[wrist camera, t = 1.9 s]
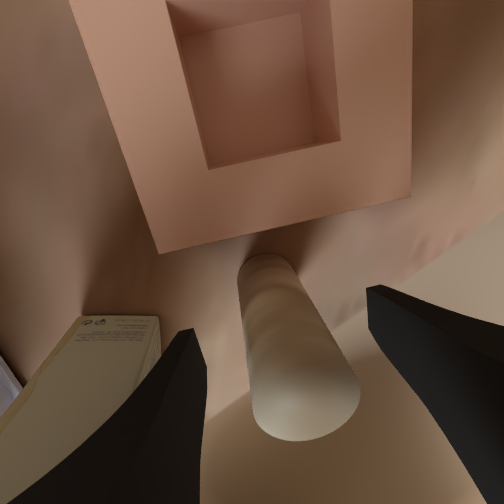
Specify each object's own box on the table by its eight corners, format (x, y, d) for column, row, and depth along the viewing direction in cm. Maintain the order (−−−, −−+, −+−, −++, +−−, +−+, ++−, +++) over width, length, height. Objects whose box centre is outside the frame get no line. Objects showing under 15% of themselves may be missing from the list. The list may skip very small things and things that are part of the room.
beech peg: (244, 310, 16) (263, 451, 9) (231, 260, 15) (241, 374, 8) (297, 297, 16) (363, 426, 9) (289, 247, 15) (356, 346, 8)
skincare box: (79, 312, 15) (-342, 806, 4) (163, 313, 16) (16, 746, 4) (92, 400, 17) (-151, 880, 6) (166, 398, 18) (72, 835, 7)
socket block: (173, 228, 14) (158, 254, 11) (92, -26, 10) (30, -108, 7) (366, 185, 14) (411, 196, 11) (352, -79, 11) (414, -182, 7)
